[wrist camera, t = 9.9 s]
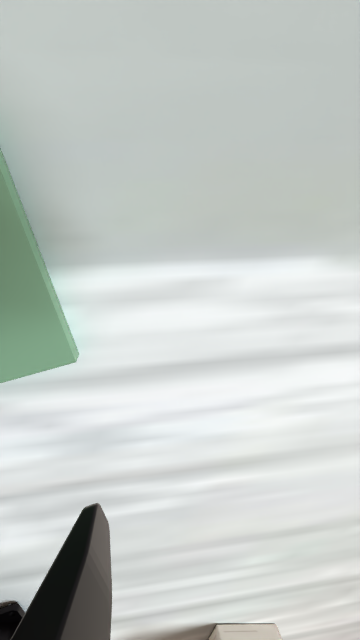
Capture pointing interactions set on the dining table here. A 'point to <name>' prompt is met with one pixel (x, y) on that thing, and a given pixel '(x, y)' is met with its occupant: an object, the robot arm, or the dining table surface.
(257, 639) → the small box
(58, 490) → the dining table surface
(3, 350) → the pin board
